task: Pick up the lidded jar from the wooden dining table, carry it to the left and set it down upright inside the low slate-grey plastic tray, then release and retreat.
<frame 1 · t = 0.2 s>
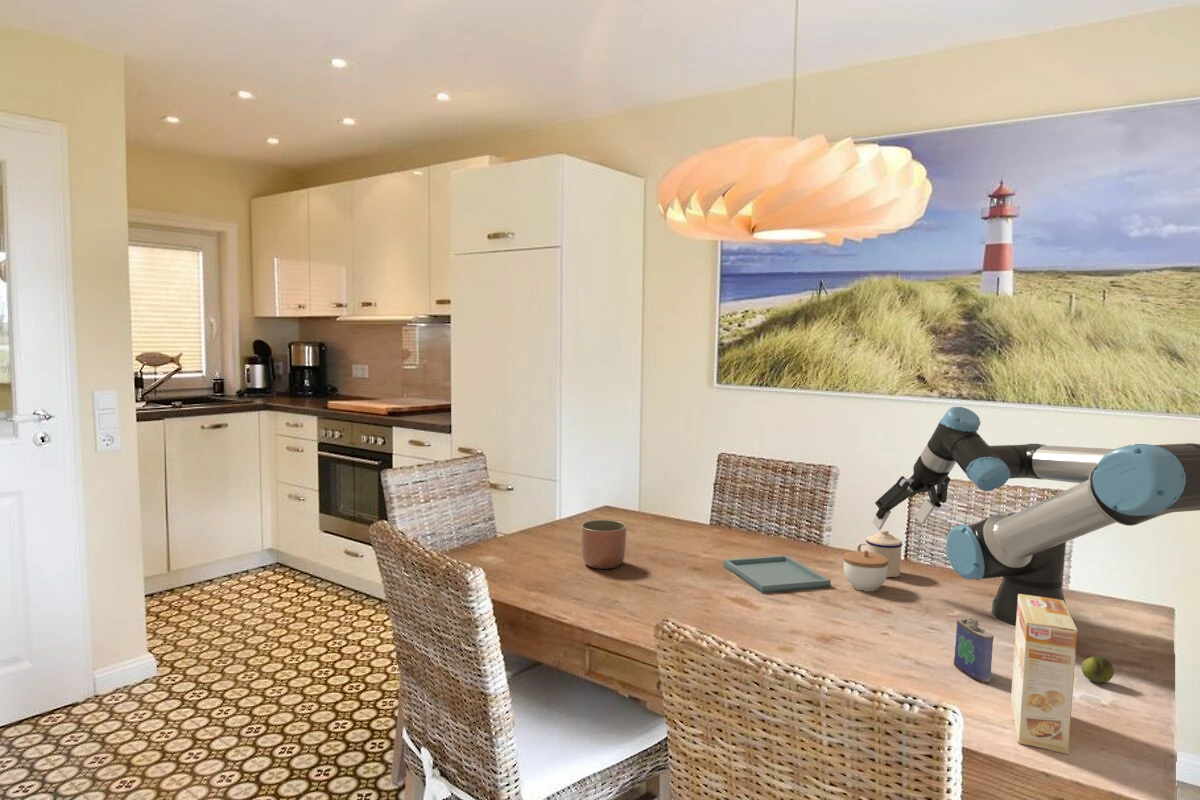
hand: (898, 523, 191), 15 cm above the table, tool tilted 35°, fingers open, 13 cm apart
planter: (603, 565, 204), on the table
teacup with lid: (877, 572, 201), on the table
lidded jar: (864, 588, 188), on the table
flask: (970, 674, 141), on the table
tray: (774, 576, 196), on the table
lime: (1097, 683, 137), on the table
coffeecake box: (1037, 728, 121), on the table
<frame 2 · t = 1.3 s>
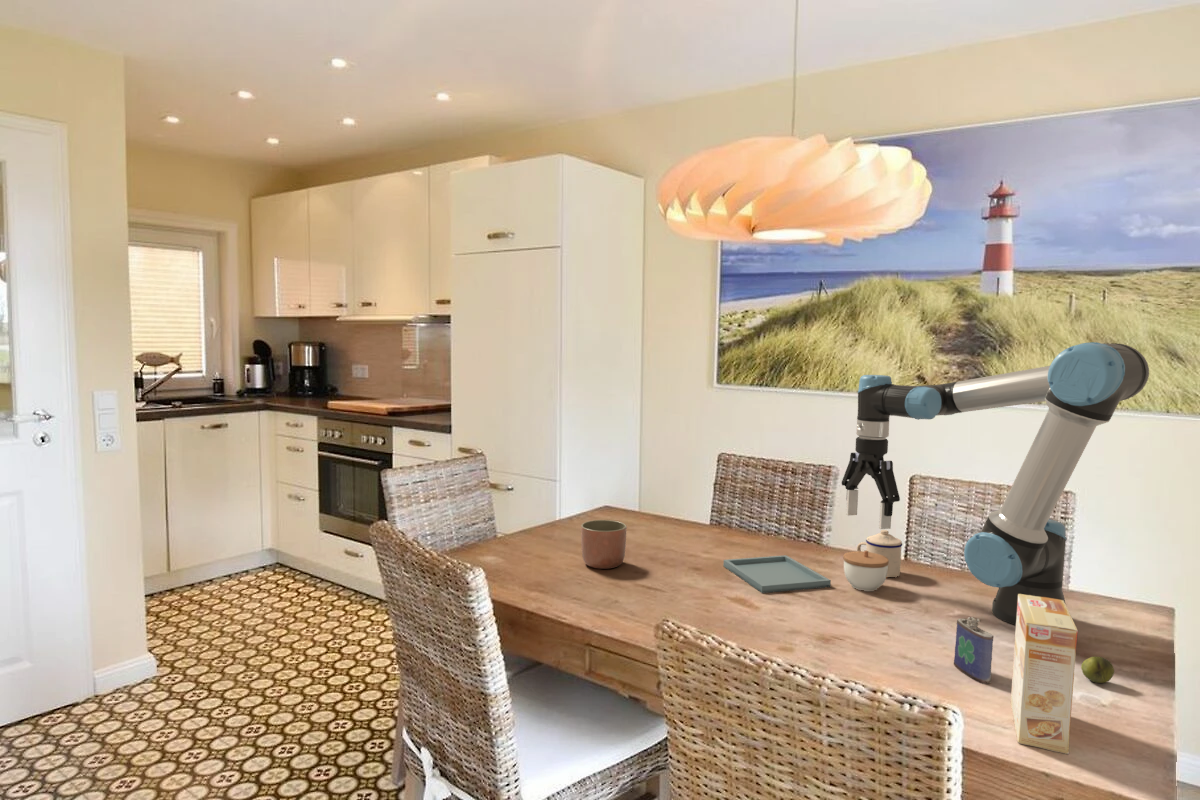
hand: (867, 521, 187), 17 cm above the table, tool pointing down, fingers open, 13 cm apart
nothing on the table moved.
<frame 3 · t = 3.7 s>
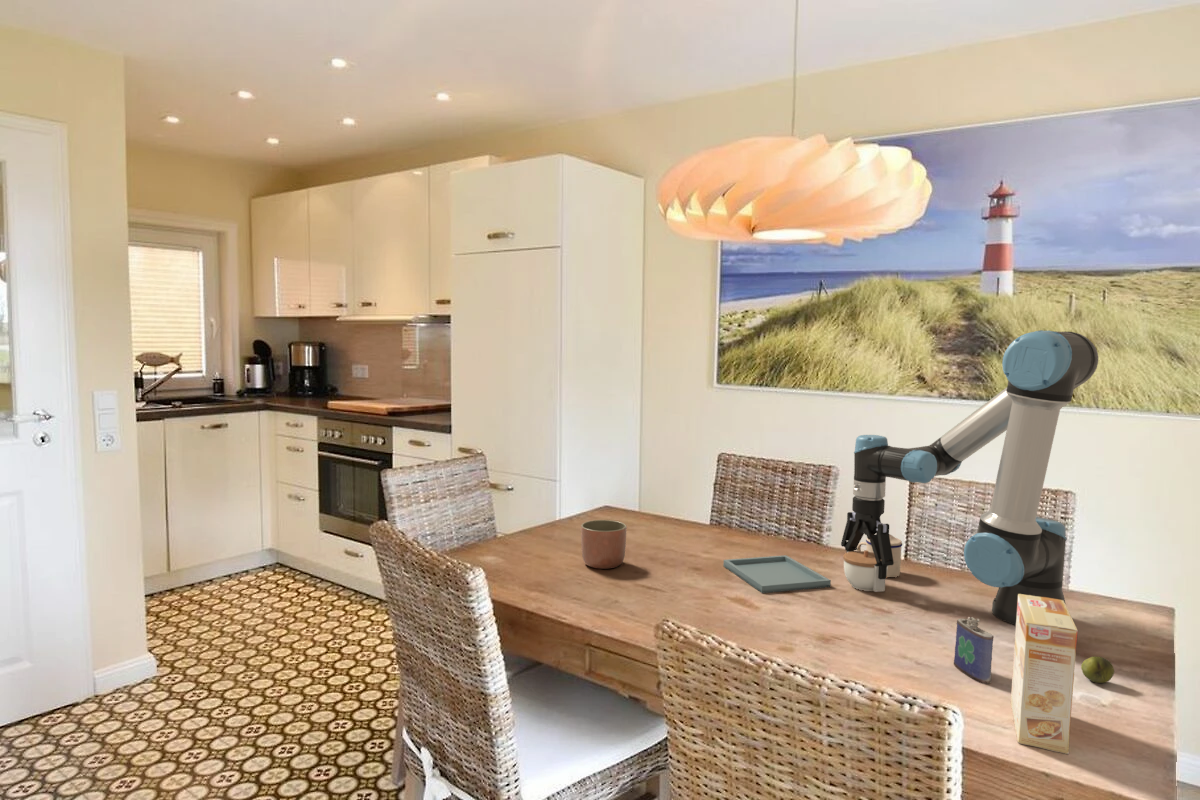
hand: (864, 583, 188), 1 cm above the table, tool pointing down, fingers closed on lidded jar, 11 cm apart
lidded jar: (864, 588, 188), on the table, touching gripper
everything else where it was.
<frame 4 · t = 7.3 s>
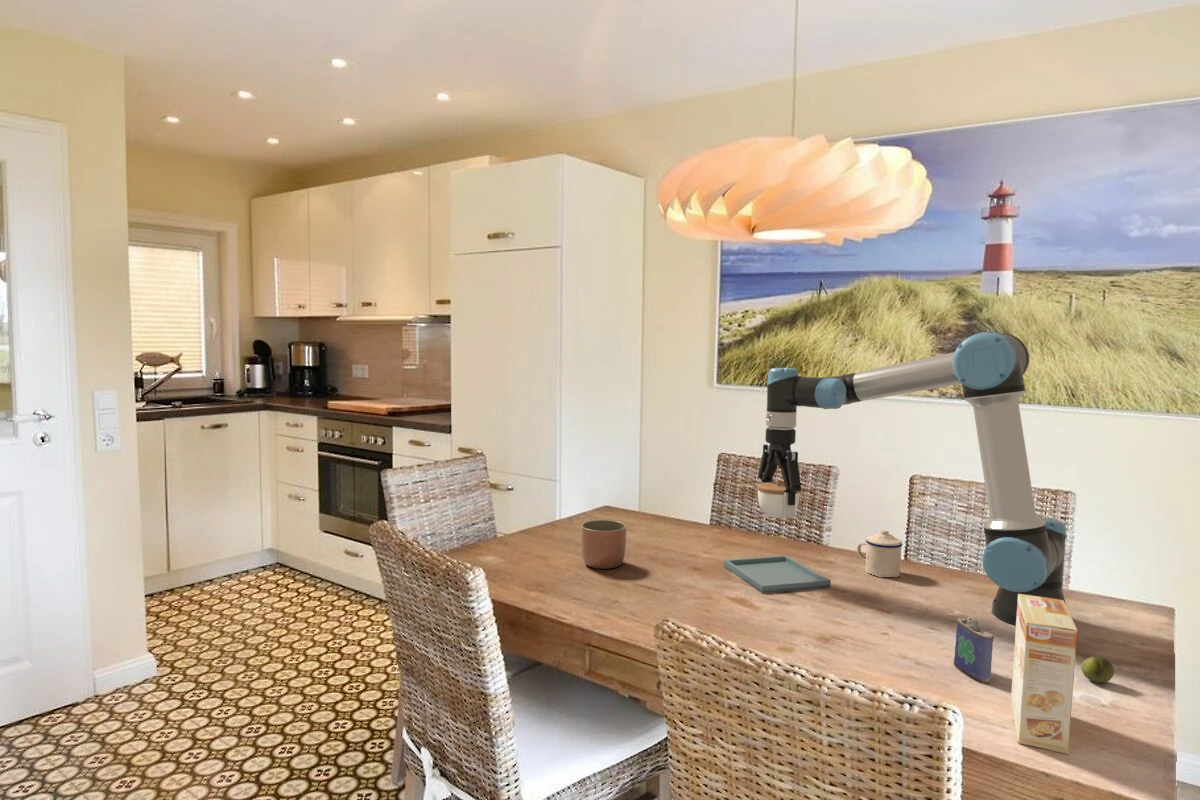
hand: (777, 512, 195), 17 cm above the table, tool pointing down, fingers closed on lidded jar, 11 cm apart
lidded jar: (777, 516, 195), point 16 cm above the table, touching gripper
everything else where it was.
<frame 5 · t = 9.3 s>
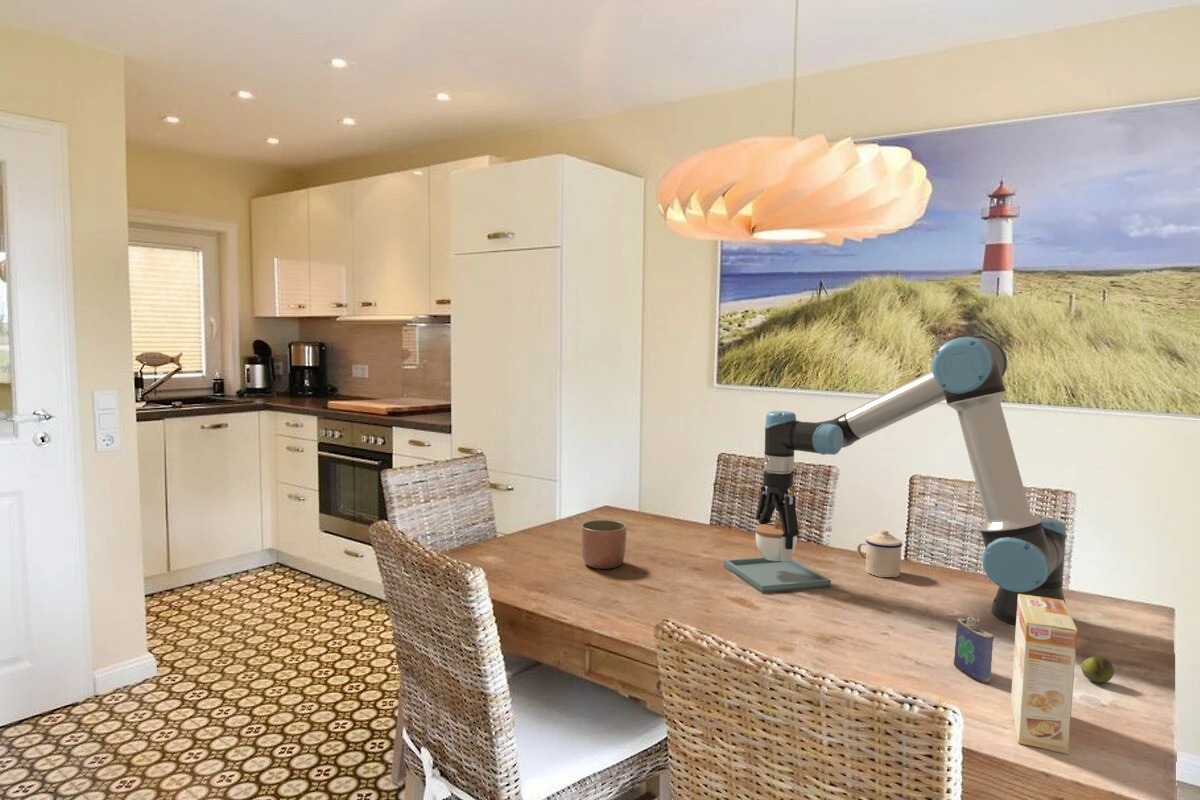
hand: (775, 554, 196), 6 cm above the table, tool pointing down, fingers closed on lidded jar, 11 cm apart
lidded jar: (775, 558, 196), point 5 cm above the table, touching gripper
everything else where it was.
when the fingers open (3 cm above the table, at t = 11.0 s): lidded jar drops 1 cm, resting on tray.
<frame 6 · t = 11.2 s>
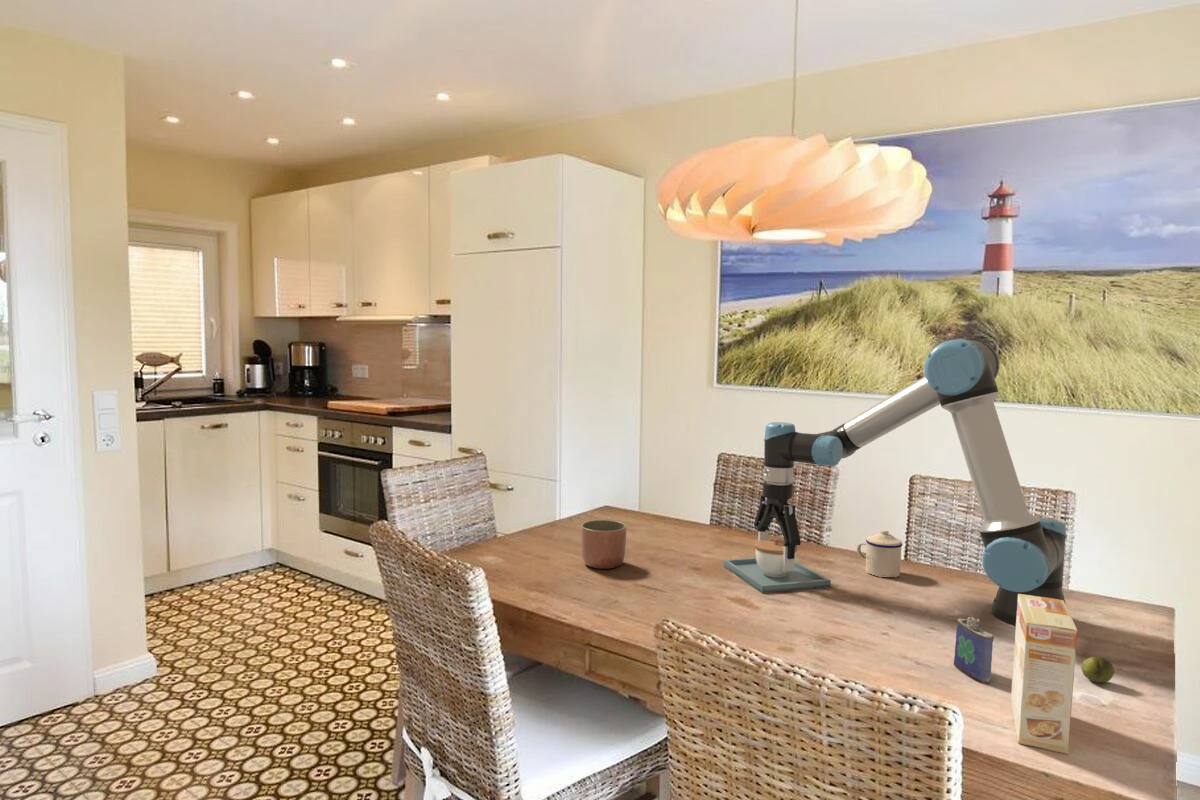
hand: (775, 562, 196), 4 cm above the table, tool pointing down, fingers open, 13 cm apart
lidded jar: (775, 574, 196), resting on tray
everything else where it was.
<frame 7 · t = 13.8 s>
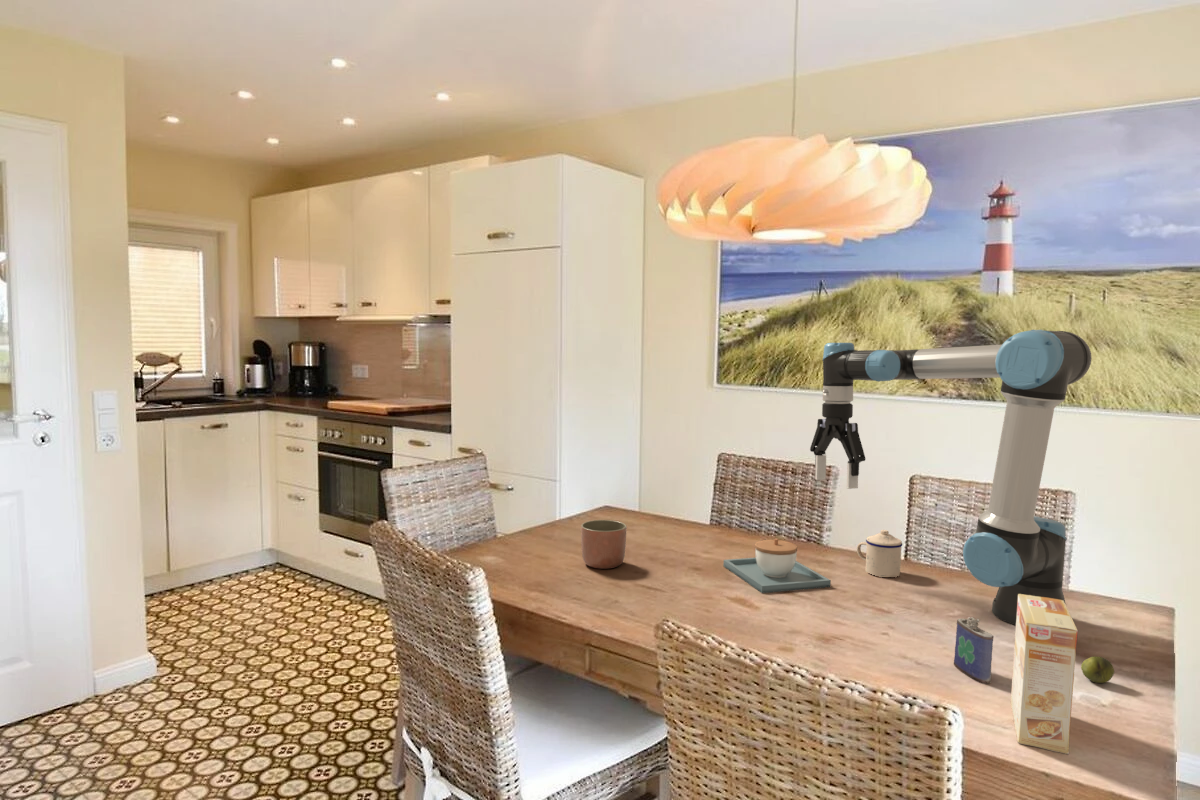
hand: (835, 483, 195), 25 cm above the table, tool pointing down, fingers open, 13 cm apart
nothing on the table moved.
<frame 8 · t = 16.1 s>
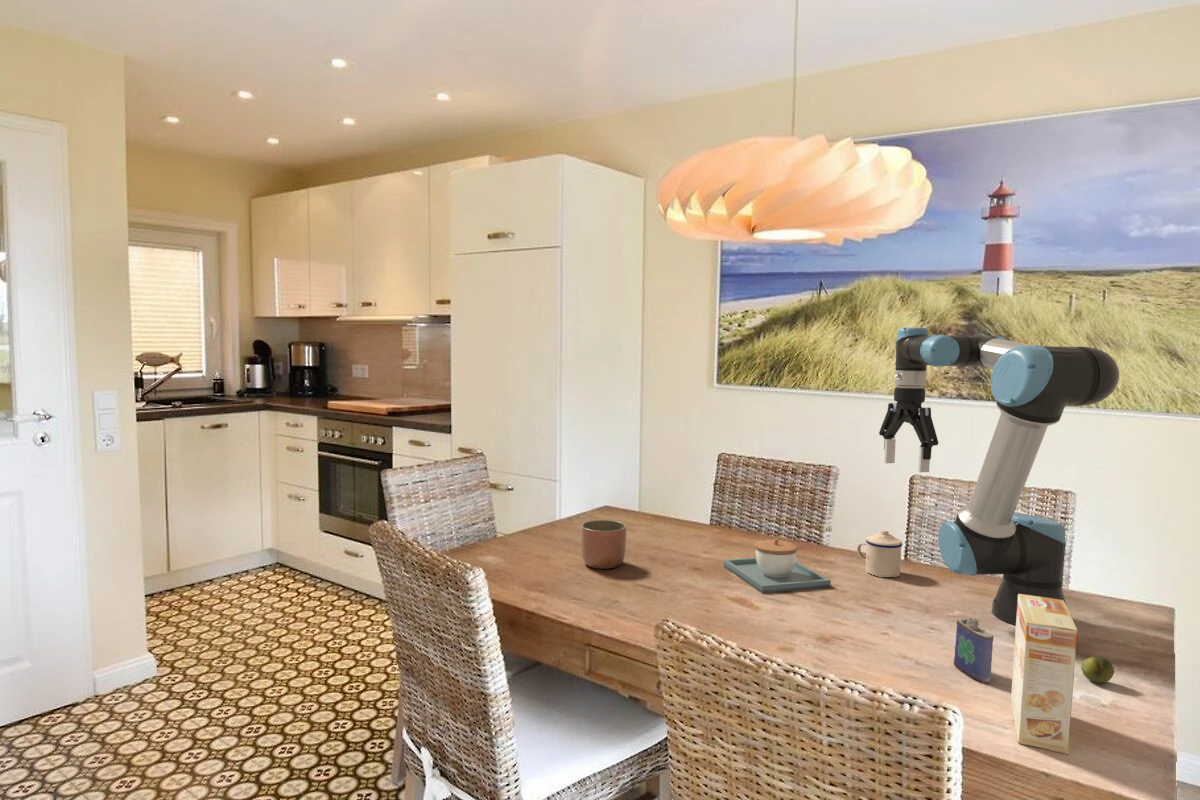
hand: (905, 467, 197), 29 cm above the table, tool pointing down, fingers open, 13 cm apart
nothing on the table moved.
at the end: lidded jar inside the target area on the tray (0.1 cm from its centre), point 0.4 cm above the tray's base; lidded jar tilted 0°; the gripper is holding nothing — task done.
